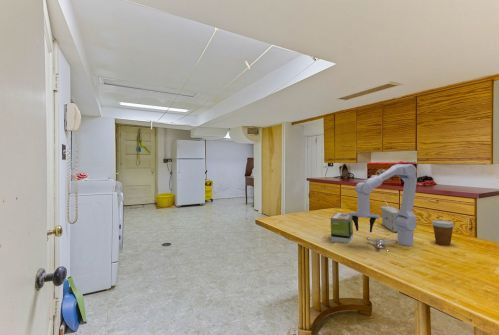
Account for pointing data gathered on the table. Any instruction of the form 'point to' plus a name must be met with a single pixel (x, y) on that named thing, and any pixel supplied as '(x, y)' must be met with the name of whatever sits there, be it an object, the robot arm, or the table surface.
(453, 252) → the table surface
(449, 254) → the table surface
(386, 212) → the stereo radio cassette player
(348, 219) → the tea box
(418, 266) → the table surface
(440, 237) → the disposable coffee cup
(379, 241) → the capstan
